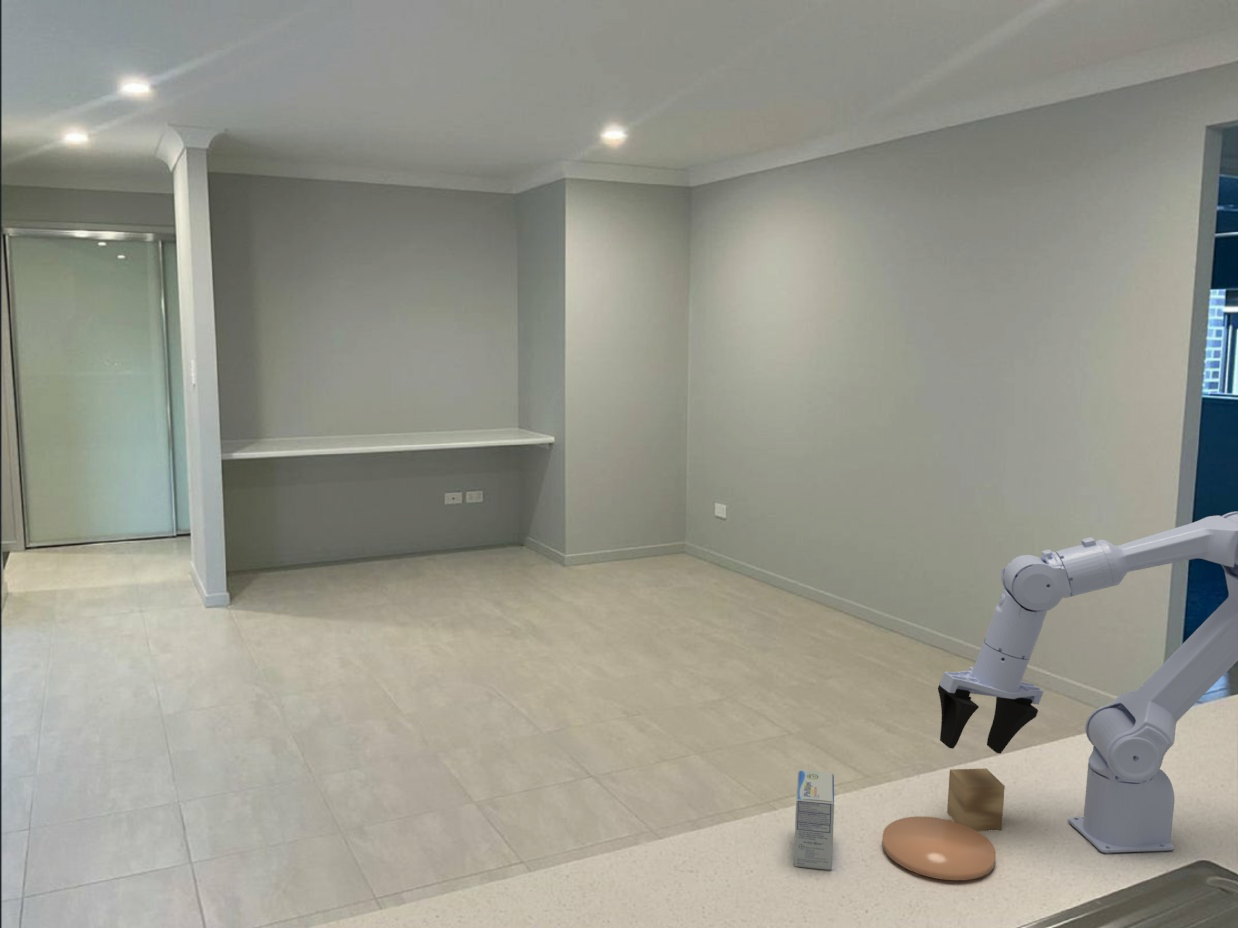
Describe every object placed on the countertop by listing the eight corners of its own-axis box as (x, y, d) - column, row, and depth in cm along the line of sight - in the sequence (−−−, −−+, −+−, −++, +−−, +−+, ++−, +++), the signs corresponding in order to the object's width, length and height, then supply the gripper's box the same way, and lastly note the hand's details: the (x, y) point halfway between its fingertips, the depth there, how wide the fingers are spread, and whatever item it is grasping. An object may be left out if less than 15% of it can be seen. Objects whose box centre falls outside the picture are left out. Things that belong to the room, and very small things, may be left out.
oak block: (983, 811, 131) (986, 768, 130) (1001, 830, 126) (1004, 785, 125) (946, 812, 131) (949, 769, 130) (963, 831, 126) (966, 787, 125)
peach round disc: (965, 824, 127) (966, 814, 127) (1015, 881, 114) (1016, 870, 114) (867, 828, 126) (867, 817, 126) (905, 886, 113) (906, 874, 113)
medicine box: (831, 872, 116) (835, 802, 115) (793, 867, 117) (796, 798, 116) (831, 837, 124) (834, 772, 122) (795, 833, 125) (797, 768, 123)
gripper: (1029, 642, 130) (994, 735, 133) (940, 628, 125) (906, 725, 127) (1067, 666, 124) (1030, 764, 126) (976, 652, 118) (939, 754, 121)
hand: (970, 746), depth 126 cm, fingers open, 7 cm apart
